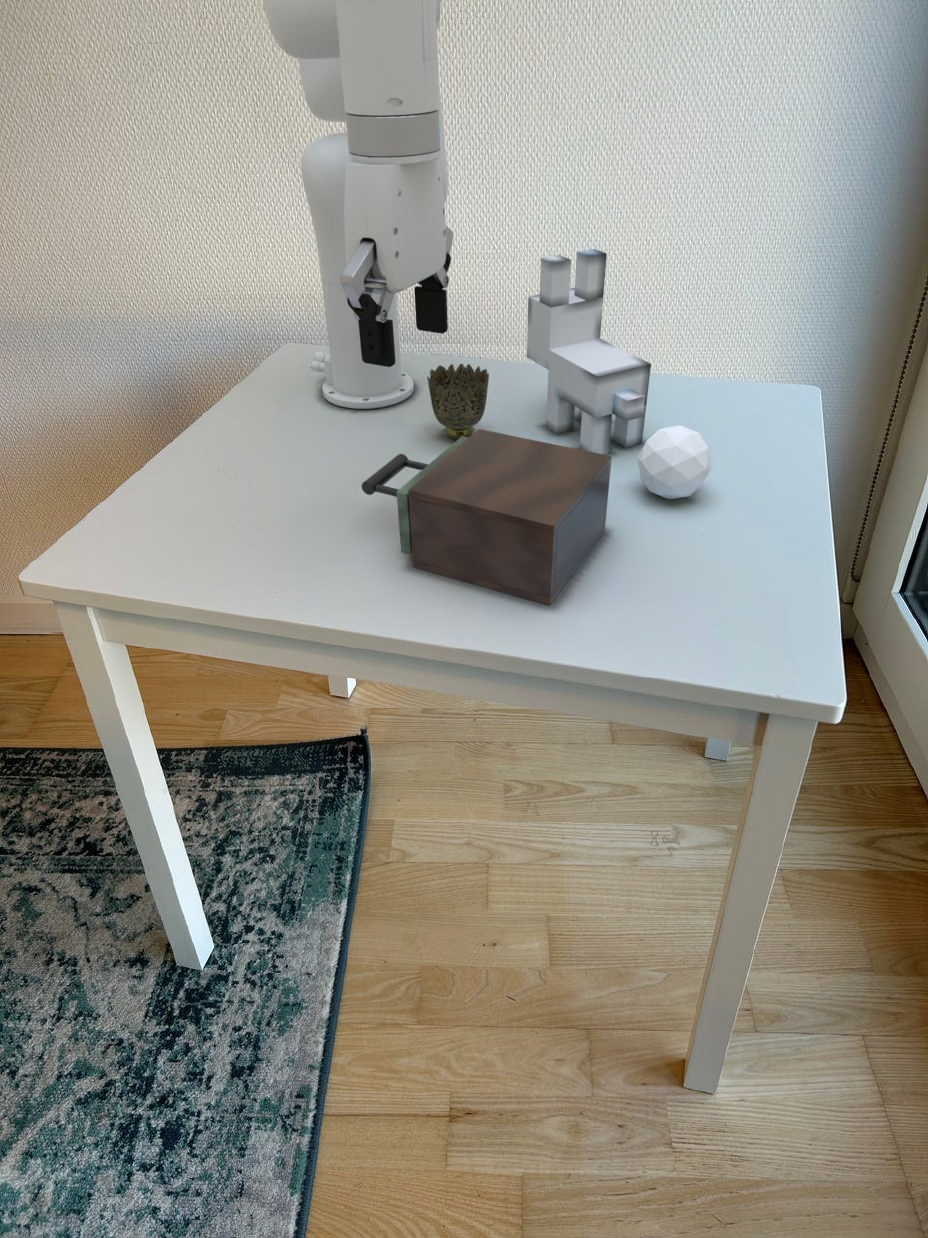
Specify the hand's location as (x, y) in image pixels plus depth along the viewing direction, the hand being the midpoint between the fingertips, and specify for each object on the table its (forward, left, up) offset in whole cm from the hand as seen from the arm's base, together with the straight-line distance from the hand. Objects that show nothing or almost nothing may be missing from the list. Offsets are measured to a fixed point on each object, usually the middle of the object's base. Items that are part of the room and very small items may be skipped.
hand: (406, 346), depth 80 cm
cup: (-6, +21, -19) cm, 29 cm away
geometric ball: (+22, +18, -19) cm, 34 cm away
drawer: (+6, 0, -18) cm, 19 cm away
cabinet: (+11, 0, -19) cm, 22 cm away
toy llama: (+8, +29, -19) cm, 36 cm away
